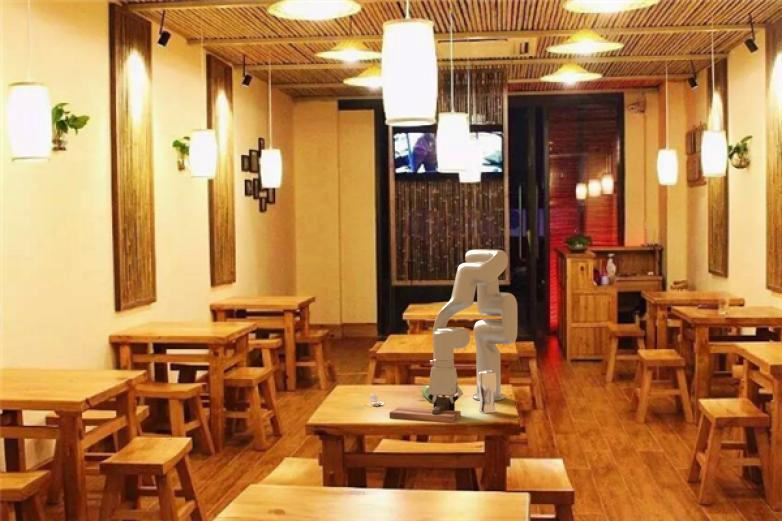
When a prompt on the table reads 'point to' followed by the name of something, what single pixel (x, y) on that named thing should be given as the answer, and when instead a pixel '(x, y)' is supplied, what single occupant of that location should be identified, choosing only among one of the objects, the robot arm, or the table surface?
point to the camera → (441, 404)
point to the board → (424, 414)
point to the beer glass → (487, 390)
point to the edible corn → (425, 393)
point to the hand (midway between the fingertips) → (444, 412)
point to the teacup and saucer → (375, 400)
